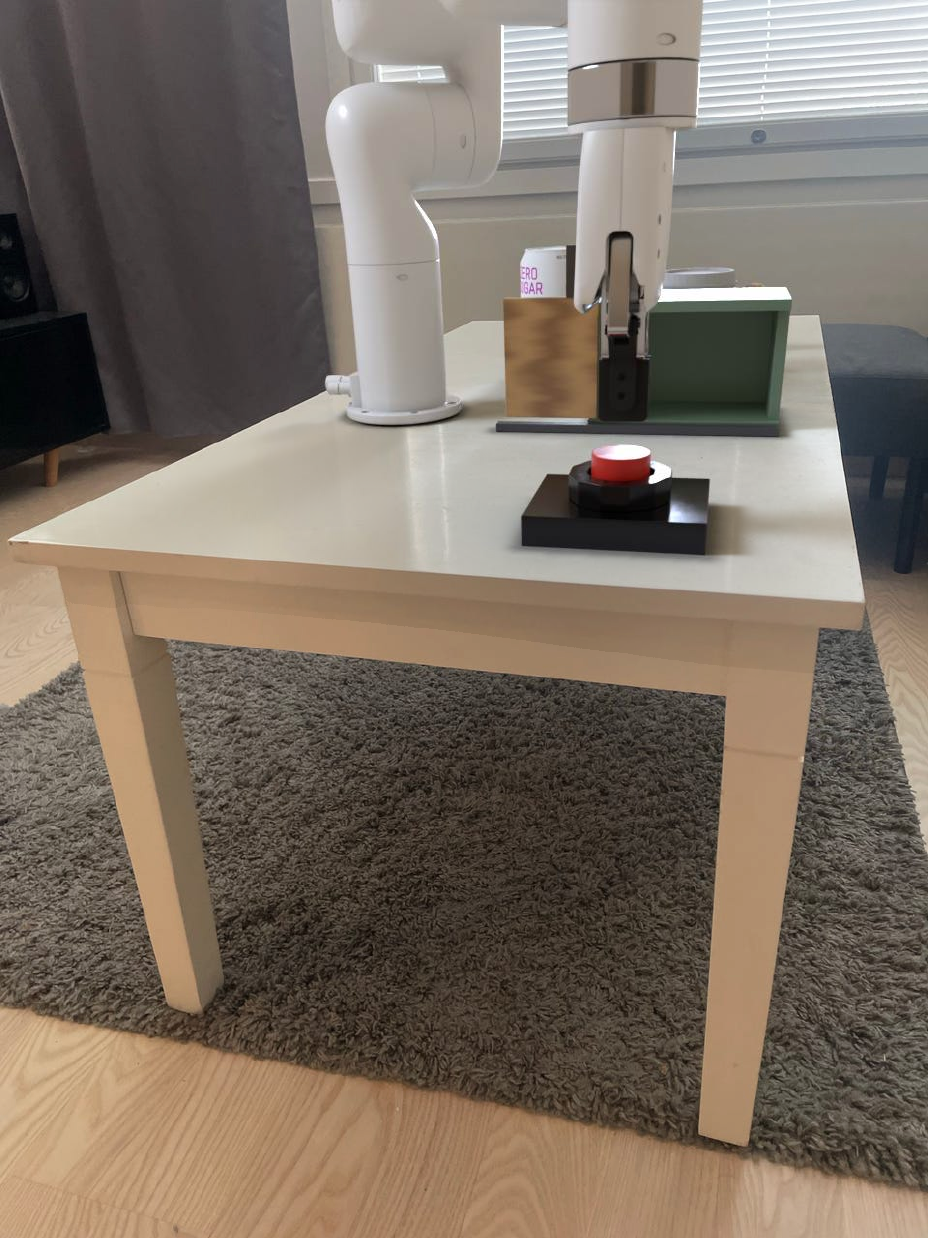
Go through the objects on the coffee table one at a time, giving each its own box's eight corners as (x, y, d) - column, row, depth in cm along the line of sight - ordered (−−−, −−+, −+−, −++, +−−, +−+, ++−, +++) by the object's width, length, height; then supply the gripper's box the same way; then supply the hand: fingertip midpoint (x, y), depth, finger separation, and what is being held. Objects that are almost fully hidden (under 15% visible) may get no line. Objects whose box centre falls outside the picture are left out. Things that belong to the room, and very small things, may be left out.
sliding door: (505, 417, 90) (501, 247, 84) (507, 414, 91) (503, 246, 85) (596, 418, 88) (599, 243, 81) (597, 416, 89) (600, 243, 82)
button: (587, 484, 62) (587, 458, 61) (594, 467, 65) (595, 443, 64) (647, 486, 61) (648, 460, 60) (651, 469, 64) (653, 444, 63)
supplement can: (594, 366, 121) (597, 245, 115) (567, 377, 115) (567, 250, 109) (540, 363, 125) (540, 245, 119) (511, 374, 119) (508, 250, 113)
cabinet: (495, 431, 91) (491, 305, 86) (518, 406, 101) (516, 292, 96) (779, 436, 85) (793, 300, 79) (773, 409, 94) (785, 287, 89)
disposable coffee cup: (716, 381, 109) (724, 274, 104) (641, 376, 114) (645, 274, 109) (740, 367, 116) (748, 267, 111) (668, 363, 121) (673, 267, 116)
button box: (521, 546, 61) (520, 489, 60) (547, 501, 70) (546, 450, 68) (704, 556, 58) (709, 496, 57) (707, 507, 67) (711, 453, 65)
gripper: (585, 118, 61) (583, 396, 68) (546, 99, 48) (548, 445, 55) (701, 109, 59) (685, 396, 67) (693, 88, 46) (675, 447, 53)
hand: (623, 418), depth 61 cm, fingers closed
